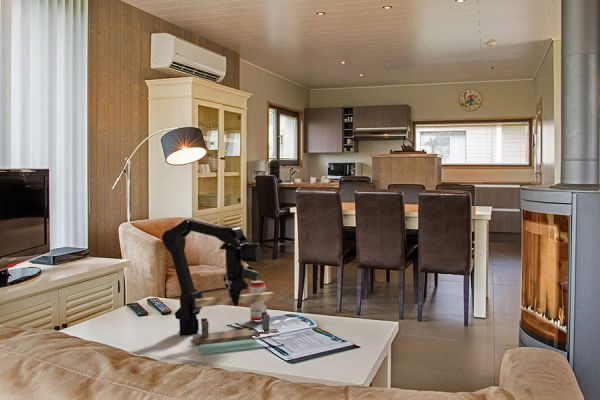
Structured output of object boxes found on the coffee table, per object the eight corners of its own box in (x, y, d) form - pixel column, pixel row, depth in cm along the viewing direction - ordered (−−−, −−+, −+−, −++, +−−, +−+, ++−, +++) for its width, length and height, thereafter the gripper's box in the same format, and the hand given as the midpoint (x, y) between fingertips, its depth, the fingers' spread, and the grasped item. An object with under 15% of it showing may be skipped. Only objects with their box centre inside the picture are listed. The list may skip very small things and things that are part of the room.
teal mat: (201, 355, 174) (201, 353, 174) (198, 347, 182) (198, 345, 182) (284, 345, 181) (284, 343, 181) (277, 337, 190) (277, 336, 190)
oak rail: (196, 307, 186) (195, 300, 186) (195, 305, 188) (195, 299, 188) (273, 299, 194) (273, 293, 193) (272, 298, 196) (272, 291, 196)
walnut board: (195, 345, 184) (194, 341, 184) (193, 338, 192) (192, 334, 191) (279, 335, 192) (279, 331, 192) (274, 329, 200) (273, 325, 200)
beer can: (264, 323, 209) (262, 283, 208) (248, 322, 210) (247, 282, 209) (268, 318, 215) (266, 279, 214) (253, 318, 216) (252, 279, 215)
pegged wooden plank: (203, 339, 186) (202, 322, 186) (201, 335, 191) (201, 318, 190) (270, 331, 193) (269, 315, 193) (267, 327, 197) (266, 311, 197)
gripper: (261, 264, 183) (262, 308, 184) (250, 256, 201) (252, 297, 202) (229, 266, 180) (230, 312, 181) (221, 258, 198) (222, 299, 199)
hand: (235, 304), depth 191 cm, fingers closed on oak rail, 2 cm apart
